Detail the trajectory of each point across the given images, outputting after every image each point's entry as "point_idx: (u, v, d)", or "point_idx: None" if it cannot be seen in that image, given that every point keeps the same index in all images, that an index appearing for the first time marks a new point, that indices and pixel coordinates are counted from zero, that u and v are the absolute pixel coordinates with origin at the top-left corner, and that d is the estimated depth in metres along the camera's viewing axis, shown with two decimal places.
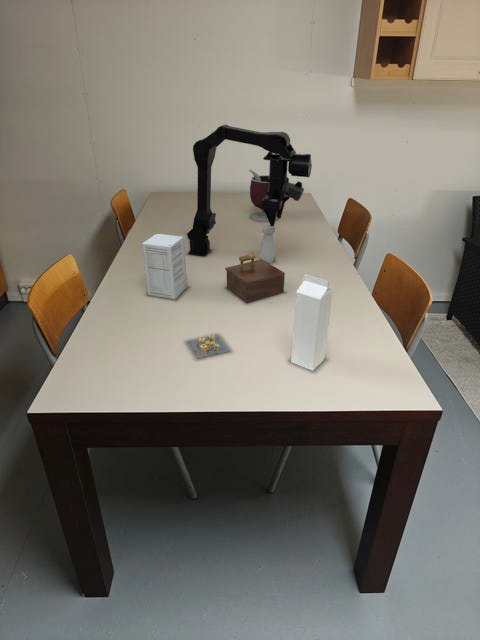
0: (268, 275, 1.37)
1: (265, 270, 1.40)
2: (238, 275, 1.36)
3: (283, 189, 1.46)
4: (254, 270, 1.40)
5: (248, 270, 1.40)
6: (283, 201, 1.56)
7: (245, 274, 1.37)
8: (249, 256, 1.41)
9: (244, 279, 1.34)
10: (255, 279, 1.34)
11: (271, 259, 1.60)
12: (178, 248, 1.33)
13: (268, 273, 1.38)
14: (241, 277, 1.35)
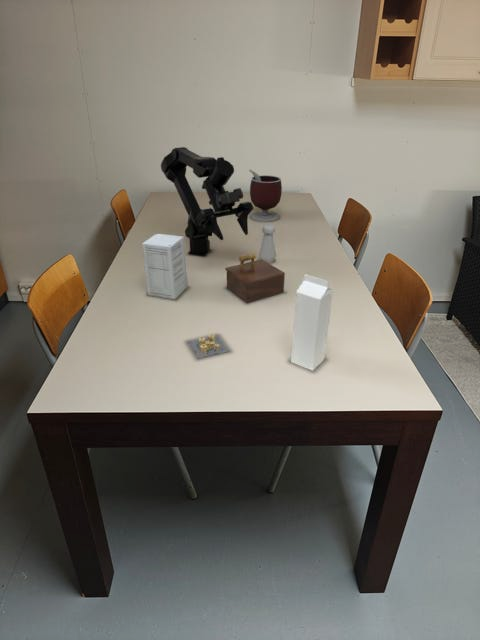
0: (268, 275, 1.37)
1: (265, 270, 1.40)
2: (238, 275, 1.36)
3: (216, 201, 1.44)
4: (254, 270, 1.40)
5: (248, 270, 1.40)
6: (242, 216, 1.48)
7: (245, 274, 1.37)
8: (249, 256, 1.41)
9: (244, 279, 1.34)
10: (255, 279, 1.34)
11: (271, 259, 1.60)
12: (178, 248, 1.33)
13: (268, 273, 1.38)
14: (241, 277, 1.35)
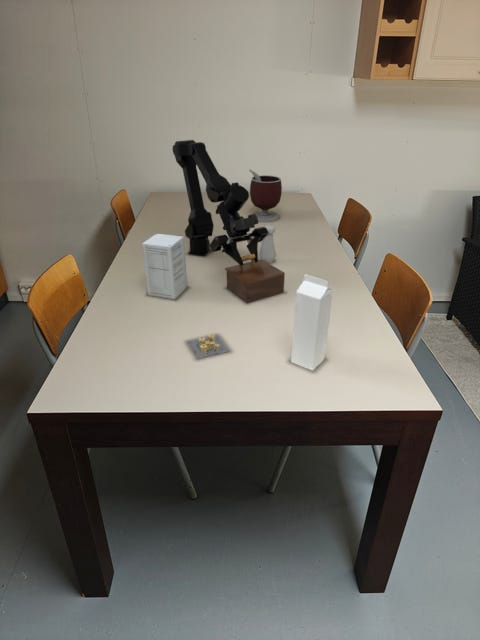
0: (268, 275, 1.37)
1: (265, 270, 1.40)
2: (238, 275, 1.36)
3: (230, 227, 1.40)
4: (254, 270, 1.40)
5: (248, 270, 1.40)
6: (252, 243, 1.43)
7: (245, 274, 1.37)
8: (249, 256, 1.41)
9: (244, 279, 1.34)
10: (255, 279, 1.34)
11: (271, 259, 1.60)
12: (178, 248, 1.33)
13: (268, 273, 1.38)
14: (241, 277, 1.35)
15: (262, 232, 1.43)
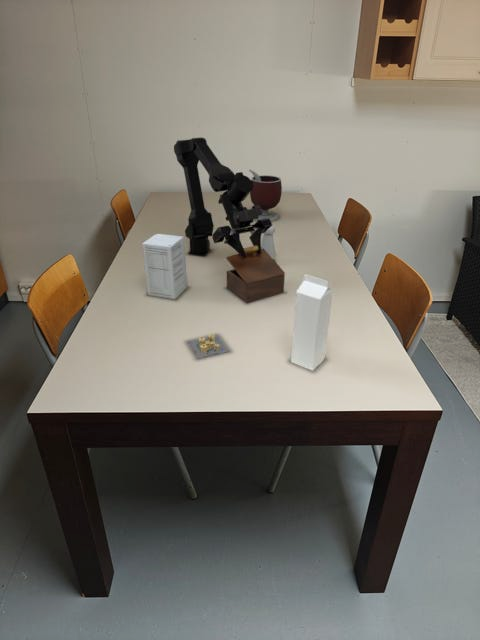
0: (268, 274, 1.36)
1: (266, 266, 1.39)
2: (239, 270, 1.35)
3: (234, 218, 1.36)
4: (255, 264, 1.38)
5: (249, 264, 1.38)
6: (255, 235, 1.40)
7: (246, 270, 1.36)
8: (252, 249, 1.38)
9: (244, 277, 1.33)
10: (256, 278, 1.34)
11: None
12: (178, 248, 1.33)
13: (268, 271, 1.37)
14: (242, 274, 1.34)
15: (266, 224, 1.40)
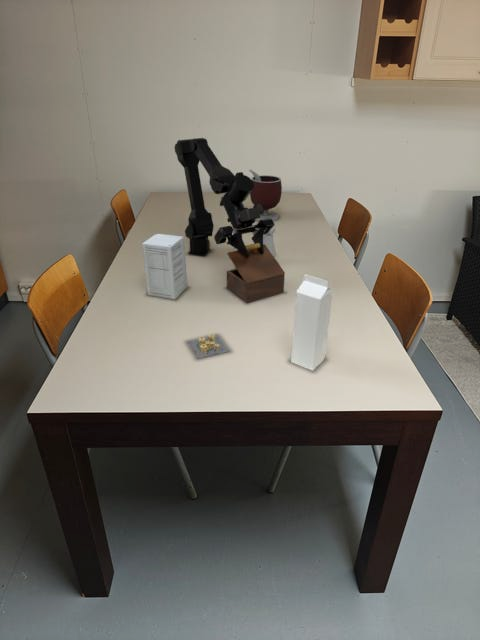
0: (269, 274, 1.36)
1: (266, 265, 1.38)
2: (239, 268, 1.35)
3: (235, 218, 1.36)
4: (256, 263, 1.38)
5: (250, 261, 1.37)
6: (257, 235, 1.39)
7: (246, 268, 1.35)
8: (254, 246, 1.37)
9: (245, 276, 1.33)
10: (256, 278, 1.34)
11: None
12: (178, 248, 1.33)
13: (269, 270, 1.37)
14: (242, 272, 1.34)
15: (268, 223, 1.39)
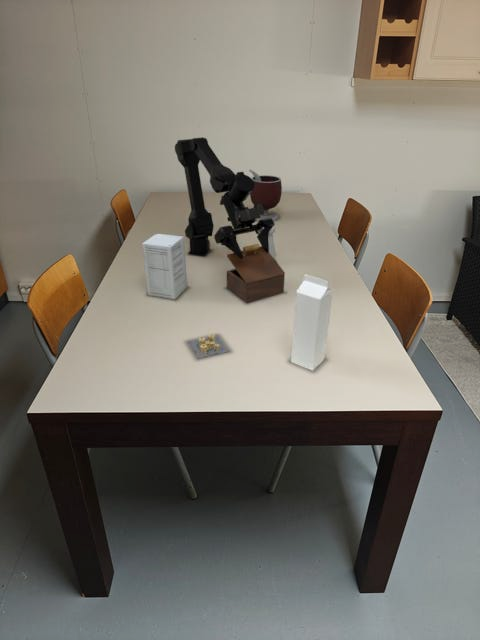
0: (268, 274, 1.36)
1: (266, 265, 1.38)
2: (239, 269, 1.35)
3: (235, 217, 1.36)
4: (255, 263, 1.38)
5: (249, 262, 1.38)
6: (263, 233, 1.40)
7: (246, 269, 1.36)
8: (253, 247, 1.38)
9: (245, 277, 1.33)
10: (256, 278, 1.34)
11: None
12: (178, 248, 1.33)
13: (269, 271, 1.37)
14: (242, 273, 1.34)
15: (268, 223, 1.39)
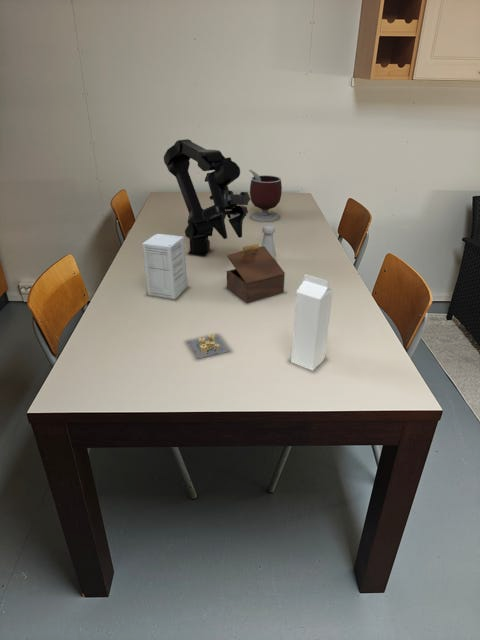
0: (268, 274, 1.36)
1: (266, 265, 1.38)
2: (239, 269, 1.35)
3: (225, 199, 1.42)
4: (255, 263, 1.38)
5: (249, 262, 1.38)
6: (239, 219, 1.50)
7: (246, 269, 1.36)
8: (253, 247, 1.38)
9: (245, 277, 1.33)
10: (256, 278, 1.34)
11: None
12: (178, 248, 1.33)
13: (269, 271, 1.37)
14: (242, 273, 1.34)
15: (244, 210, 1.50)
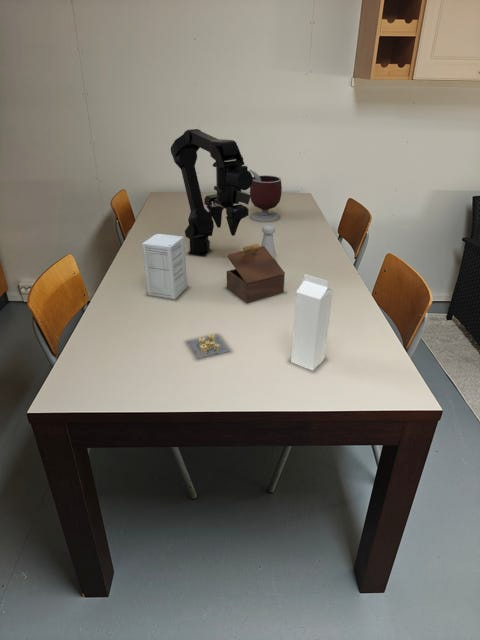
0: (268, 274, 1.36)
1: (266, 265, 1.38)
2: (239, 269, 1.35)
3: (237, 196, 1.45)
4: (255, 263, 1.38)
5: (249, 262, 1.38)
6: (221, 209, 1.53)
7: (246, 269, 1.36)
8: (253, 247, 1.38)
9: (245, 277, 1.33)
10: (256, 278, 1.34)
11: None
12: (178, 248, 1.33)
13: (269, 271, 1.37)
14: (242, 273, 1.34)
15: None
